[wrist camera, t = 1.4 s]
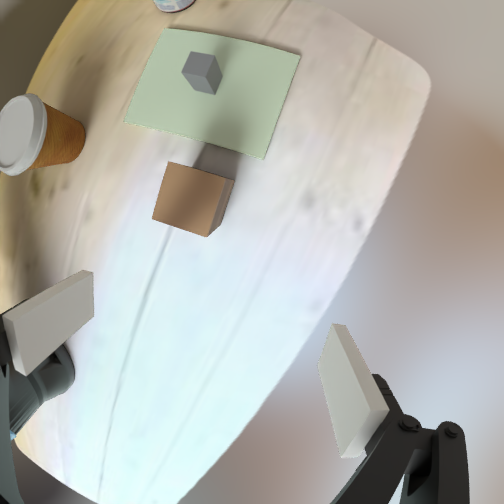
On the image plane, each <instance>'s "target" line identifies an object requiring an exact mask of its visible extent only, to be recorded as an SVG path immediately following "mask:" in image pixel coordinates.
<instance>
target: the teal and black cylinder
mask: <svg viewBox="0 0 504 504" xmlns="http://www.w3.org/2000/svg"><path fill="white" fill-rule="evenodd" d="M153 1H154V3H155V4H156V6H157V8H158V9H160V10H161V11H163V12H167V13H176V12H180V11H182V10H185V9H187V8H188V7H190V6H191V5H192V4H193V3H194V2H195V0H153Z"/></svg>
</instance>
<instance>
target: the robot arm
mask: <svg viewBox="0 0 504 504" xmlns="http://www.w3.org/2000/svg"><path fill="white" fill-rule="evenodd" d="M93 317H94V296H93V272H89V271H86V270H81V271H80V272H78V273H76V274H74V275H72V276H70V277H68V278H66V279H65V280H63V281H61V282H59V283H57V284H55V285H54V286H52V287H50V288H48V289H46V290H45V291H43V292H41V293H39V294H38V295H36V296H34V297H32V298H30V299H26V300H24V301H22V302H21V303H19V305H18V304H17V305H15V306H14V307H13V308H10V309H9V310H7V311H5V312H4V313H2V314H0V504H24V502H23V500H22V498H21V496H20V494H19V490H18V485H17V480H16V475H15V469H14V463H13V456H12V447H11V440H12V439H13V438H15V437H16V435H17V433H18V432H19V431H20V430H21V429H22V427H23V426H24V425H25V424H26V422H27V421H28V420H29V419H30V418H31V416H32V415H33V414H34V413H35V412H36V411H37V409H38V408H39V407H40V406H41V405H42V404H43V403H44V402H45V401H47V400H50V399H52V398H54V397H56V396H58V395H60V394H63V393H65V392H66V391H67V390H68V389H69V388H70V386H71V385H72V384H73V382H74V378H75V373H74V367H73V364H72V361H71V359H70V357H69V355H68V353H67V351H66V349H65V348H64V346H63V345H62V344H63V343H64V342H65V341H66V340H67V339H68V338H69V337H71V336H72V335H73V334H74V333H75V332H76V331H77V330H79V329H80V328H81V327H82V326H83V325H84V324H86V323H87V322H88V321H89V320H90V319H92V318H93ZM317 368H318V372H319V375H320V379H321V383H322V387H323V390H324V394H325V398H326V402H327V406H328V410H329V414H330V417H331V422H332V425H333V429H334V434H335V438H336V442H337V446H338V450H339V454H340V458H357V457H359V455H360V454H361V453H362V451H363V450H364V448H365V451H366V454H367V457H366V458H365V459H364V460H363V462H362V463H361V464H360V465H359V467H358V468H357V469H356V472H355V473H354V474H353V476H352V477H351V478H350V480H349V481H348V482H347V484H346V485H345V486H344V487H343V489H342V490H341V491H340V493H339V494H338V495H337V496H336V497H335V499H334V500H333V501H332V502H331V503H330V504H388V503H389V501H390V500H391V497H392V496H393V494H394V492H395V490H396V488H397V487H398V485H399V483H400V480H401V479H402V477H403V474H405V476H404V482H403V488H402V493H401V499H400V504H470V498H469V473H468V462H467V461H468V460H467V451H466V443H465V435H464V432H463V430H462V428H461V427H460V426H459V425H457V424H456V423H453V422H449V421H445V422H442V423H441V424H440V425H439V426H438V428H437V429H436V430H432V429H426V428H422V426H421V424H420V422H419V421H418V420H417V419H415V418H414V417H412V416H410V415H406V414H403V412H402V410H401V408H400V406H399V404H398V402H397V400H396V399H395V397H394V396H393V393H392V391H391V390H390V388H389V386H388V384H387V382H386V381H385V380H384V379H383V378H382V377H381V376H380V375H378V374H371V372H370V370H369V369H368V367H367V365H366V363H365V361H364V359H363V357H362V355H361V353H360V352H359V350H358V348H357V346H356V344H355V342H354V340H353V338H352V337H351V335H350V333H349V331H348V329H347V328H346V326H345V325H340V324H332V325H331V328H330V331H329V334H328V337H327V340H326V342H325V345H324V348H323V351H322V354H321V356H320V359H319V362H318V365H317Z"/></svg>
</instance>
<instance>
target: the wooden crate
mask: <svg viewBox="0 0 504 504" xmlns="http://www.w3.org/2000/svg"><path fill="white" fill-rule="evenodd" d="M234 182H235V181H234V180H231V179H228V178H225V177H222V176H219V175H215V174H212V173H209V172H206V171H202V170H199V169H196V168H192V167H189V166H185V165H181V164H177V163H173V162H169V161H168V164H167V167H166V171H165V174H164V177H163V181H162V184H161V187H160V191H159V194H158V198H157V201H156V205H155V209H154V212H153V216H152V219H153V220H156V221H159V222H162V223H165V224H168V225H171V226H174V227H177V228H180V229H183V230H186V231H189V232H192V233H195V234H198V235H201V236H204V237H208V236H209V235H210V234H211V233H212V232H213V231H214V230H215V229H216V228H217V227H219V226H220V225H221V222H222V219H223V216H224V212H225V209H226V206H227V203H228V200H229V197H230V194H231V191H232V188H233V185H234Z"/></svg>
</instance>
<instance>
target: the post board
mask: <svg viewBox="0 0 504 504" xmlns="http://www.w3.org/2000/svg"><path fill="white" fill-rule="evenodd" d="M299 60H300V56H299V55H296V54H293V53H289V52H286V51H283V50H279V49H276V48H272V47H269V46H265V45H261V44H257V43H253V42H249V41H245V40H240V39H235V38H230V37H225V36H220V35H214V34H208V33H202V32H195V31H187V30H178V29H167V28H164V30H163V32H162V34H161V36H160V38H159V40H158V42H157V44H156V46H155V48H154V50H153V52H152V54H151V56H150V58H149V60H148V62H147V64H146V67H145V69H144V71H143V73H142V76H141V78H140V80H139V83H138V85H137V88H136V90H135V93H134V95H133V98H132V100H131V103H130V105H129V108H128V111H127V114H126V116H125V119H124V122H125V123H128V124H133V125H137V126H142V127H147V128H151V129H155V130H160V131H164V132H168V133H172V134H176V135H180V136H184V137H188V138H191V139H195V140H199V141H203V142H206V143H210V144H213V145H217V146H220V147H223V148H227V149H230V150H233V151H237V152H240V153H243V154H246V155H249V156H252V157H256V158H259V159H262V160H264V157H265V154H266V151H267V148H268V145H269V142H270V140H271V137H272V134H273V131H274V128H275V125H276V123H277V120H278V117H279V114H280V112H281V109H282V106H283V103H284V100H285V98H286V95H287V92H288V89H289V87H290V84H291V81H292V78H293V76H294V73H295V70H296V68H297V65H298V62H299Z"/></svg>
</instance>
